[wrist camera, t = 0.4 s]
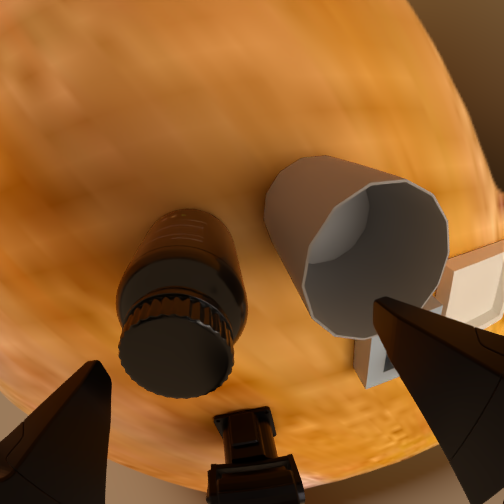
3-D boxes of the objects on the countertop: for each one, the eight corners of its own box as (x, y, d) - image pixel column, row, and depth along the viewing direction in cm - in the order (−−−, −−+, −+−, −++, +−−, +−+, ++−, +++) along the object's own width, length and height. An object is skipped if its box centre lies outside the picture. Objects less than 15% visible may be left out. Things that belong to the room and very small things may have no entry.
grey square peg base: (413, 345, 30) (428, 363, 27) (353, 367, 29) (365, 389, 26) (423, 287, 27) (443, 305, 23) (356, 309, 26) (372, 331, 23)
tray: (491, 310, 31) (501, 318, 29) (425, 342, 30) (435, 353, 28) (507, 238, 26) (520, 244, 24) (440, 261, 26) (454, 271, 24)
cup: (364, 152, 21) (455, 175, 12) (366, 250, 24) (437, 315, 15) (256, 163, 20) (293, 192, 11) (269, 269, 24) (304, 355, 14)
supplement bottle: (244, 279, 24) (272, 399, 13) (162, 298, 23) (137, 420, 12) (223, 194, 21) (236, 271, 10) (132, 219, 20) (64, 311, 10)
